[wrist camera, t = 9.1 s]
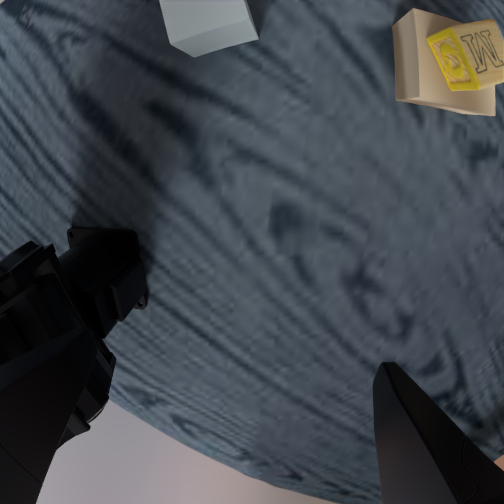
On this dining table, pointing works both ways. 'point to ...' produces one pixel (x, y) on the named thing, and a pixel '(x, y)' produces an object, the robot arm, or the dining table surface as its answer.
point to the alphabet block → (470, 55)
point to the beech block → (430, 68)
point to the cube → (207, 24)
